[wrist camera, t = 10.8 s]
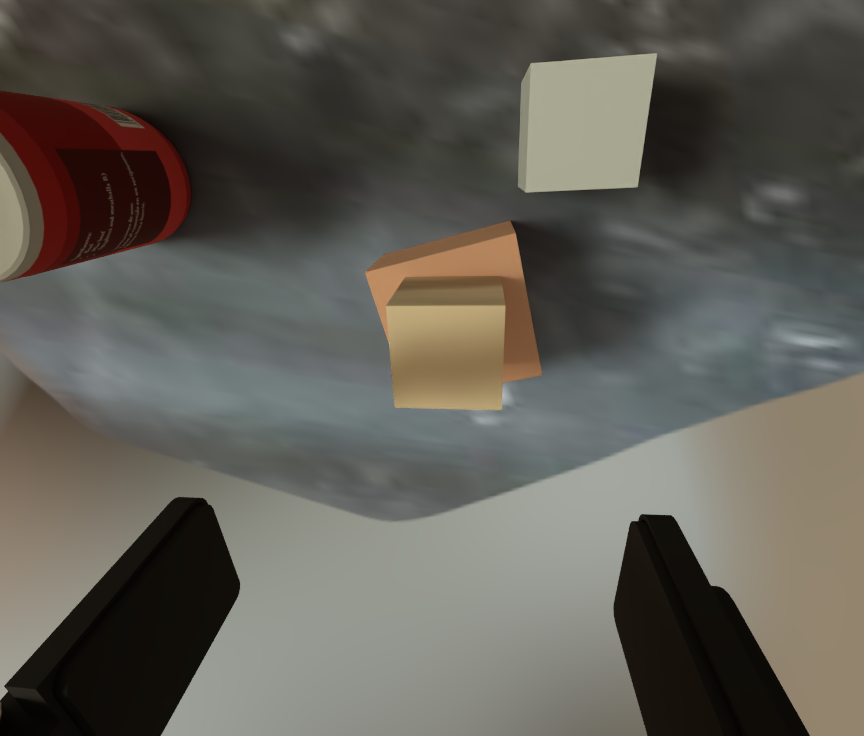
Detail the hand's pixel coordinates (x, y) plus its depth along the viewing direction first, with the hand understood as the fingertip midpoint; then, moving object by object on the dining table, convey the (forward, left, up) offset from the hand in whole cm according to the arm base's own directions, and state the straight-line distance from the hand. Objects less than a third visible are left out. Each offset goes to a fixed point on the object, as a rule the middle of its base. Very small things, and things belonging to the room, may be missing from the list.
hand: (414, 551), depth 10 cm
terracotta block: (0, 0, -20) cm, 20 cm away
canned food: (-8, -20, -20) cm, 30 cm away
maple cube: (0, 0, -15) cm, 15 cm away
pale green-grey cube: (-9, +6, -20) cm, 23 cm away
